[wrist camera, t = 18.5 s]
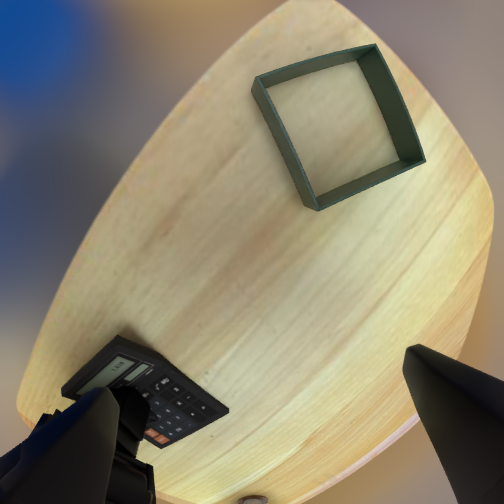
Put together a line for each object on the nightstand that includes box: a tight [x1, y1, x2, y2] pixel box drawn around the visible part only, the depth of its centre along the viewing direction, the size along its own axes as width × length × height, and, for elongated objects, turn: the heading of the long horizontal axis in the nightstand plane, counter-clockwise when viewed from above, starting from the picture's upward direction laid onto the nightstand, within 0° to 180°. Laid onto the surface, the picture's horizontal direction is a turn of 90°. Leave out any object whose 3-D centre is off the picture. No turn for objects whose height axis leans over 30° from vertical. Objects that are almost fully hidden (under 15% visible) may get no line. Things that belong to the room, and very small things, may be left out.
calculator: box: [61, 335, 229, 449], centre depth 21 cm, size 9×12×3 cm
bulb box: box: [251, 43, 426, 212], centre depth 17 cm, size 8×8×3 cm
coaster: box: [238, 496, 268, 504], centre depth 29 cm, size 4×4×1 cm
